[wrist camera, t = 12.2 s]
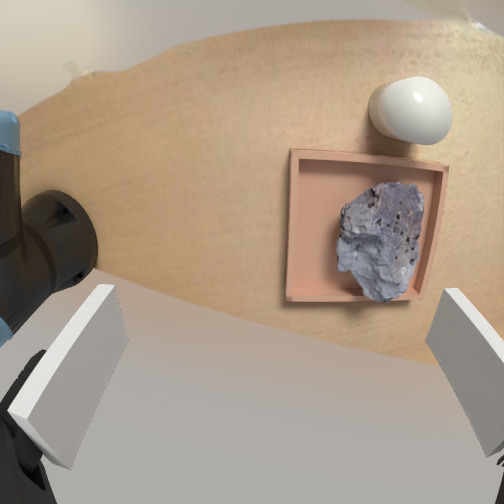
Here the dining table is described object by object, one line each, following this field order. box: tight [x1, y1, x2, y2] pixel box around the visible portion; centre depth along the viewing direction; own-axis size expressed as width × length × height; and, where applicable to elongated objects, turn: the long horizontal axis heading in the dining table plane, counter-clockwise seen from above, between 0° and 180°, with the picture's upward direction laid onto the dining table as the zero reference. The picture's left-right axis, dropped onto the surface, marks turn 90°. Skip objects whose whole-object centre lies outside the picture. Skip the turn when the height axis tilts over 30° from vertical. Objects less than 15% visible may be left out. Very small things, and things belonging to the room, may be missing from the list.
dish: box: [285, 149, 449, 302], centre depth 36 cm, size 20×19×3 cm
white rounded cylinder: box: [368, 77, 452, 145], centre depth 28 cm, size 7×7×8 cm
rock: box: [336, 182, 425, 304], centre depth 34 cm, size 14×10×10 cm
